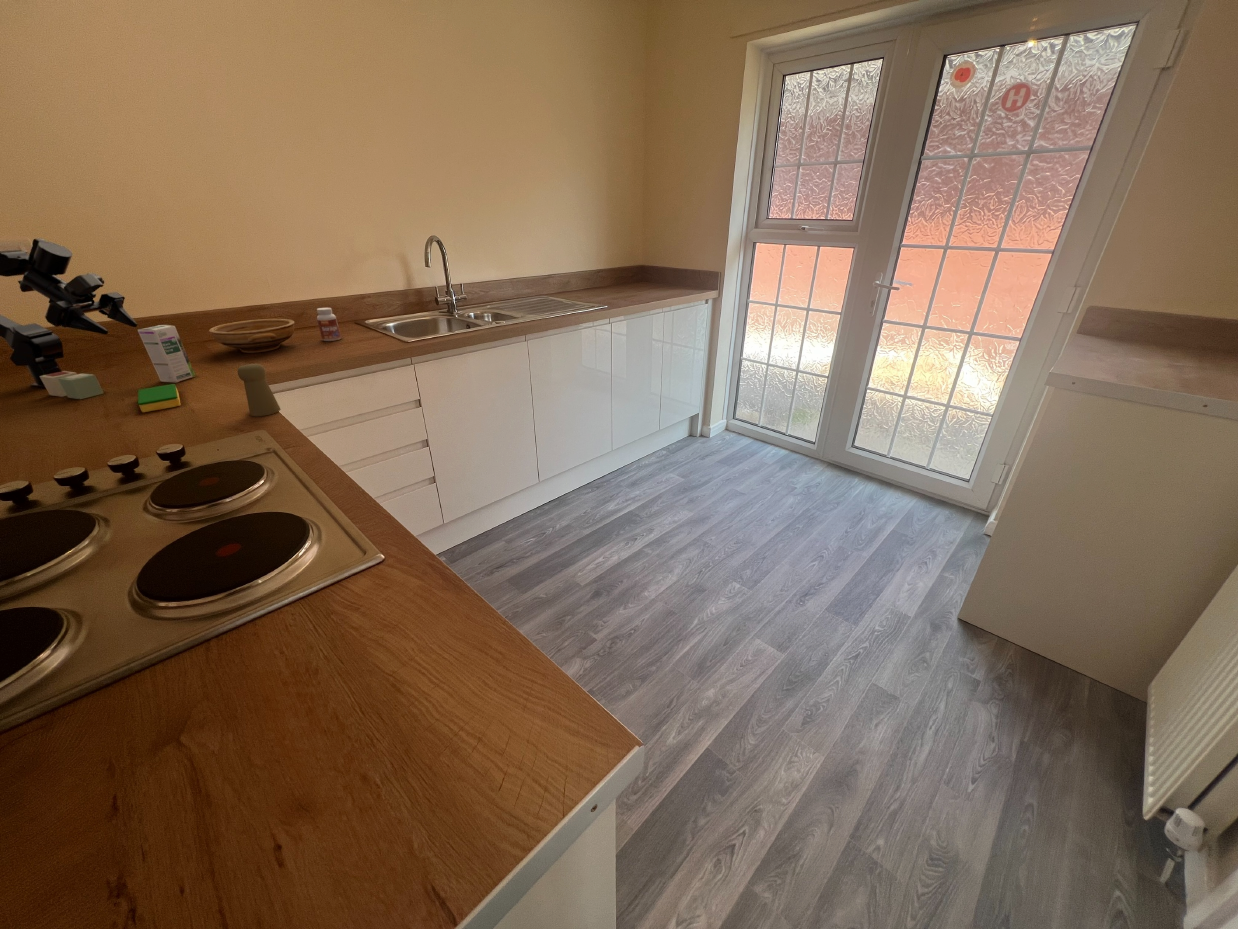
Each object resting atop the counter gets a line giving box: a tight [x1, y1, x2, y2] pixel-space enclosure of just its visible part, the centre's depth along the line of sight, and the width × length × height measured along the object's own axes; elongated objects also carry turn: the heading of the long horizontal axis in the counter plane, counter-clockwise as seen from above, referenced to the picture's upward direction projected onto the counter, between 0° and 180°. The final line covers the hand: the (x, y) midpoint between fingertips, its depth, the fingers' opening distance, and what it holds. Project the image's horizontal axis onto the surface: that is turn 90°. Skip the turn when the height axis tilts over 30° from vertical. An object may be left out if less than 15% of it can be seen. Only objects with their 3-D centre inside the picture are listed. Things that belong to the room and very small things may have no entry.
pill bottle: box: [316, 307, 342, 342], centre depth 181 cm, size 6×6×11 cm
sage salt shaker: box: [237, 363, 281, 417], centre depth 113 cm, size 6×6×11 cm
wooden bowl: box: [208, 318, 295, 354], centre depth 171 cm, size 30×24×8 cm
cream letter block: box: [40, 370, 78, 398], centre depth 129 cm, size 5×5×5 cm
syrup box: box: [137, 324, 196, 383], centre depth 137 cm, size 6×6×14 cm
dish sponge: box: [137, 383, 182, 413], centre depth 122 cm, size 7×14×2 cm, turn 40°
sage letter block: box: [59, 372, 104, 400], centre depth 127 cm, size 5×5×5 cm
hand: (122, 329), depth 133 cm, fingers open, 9 cm apart
